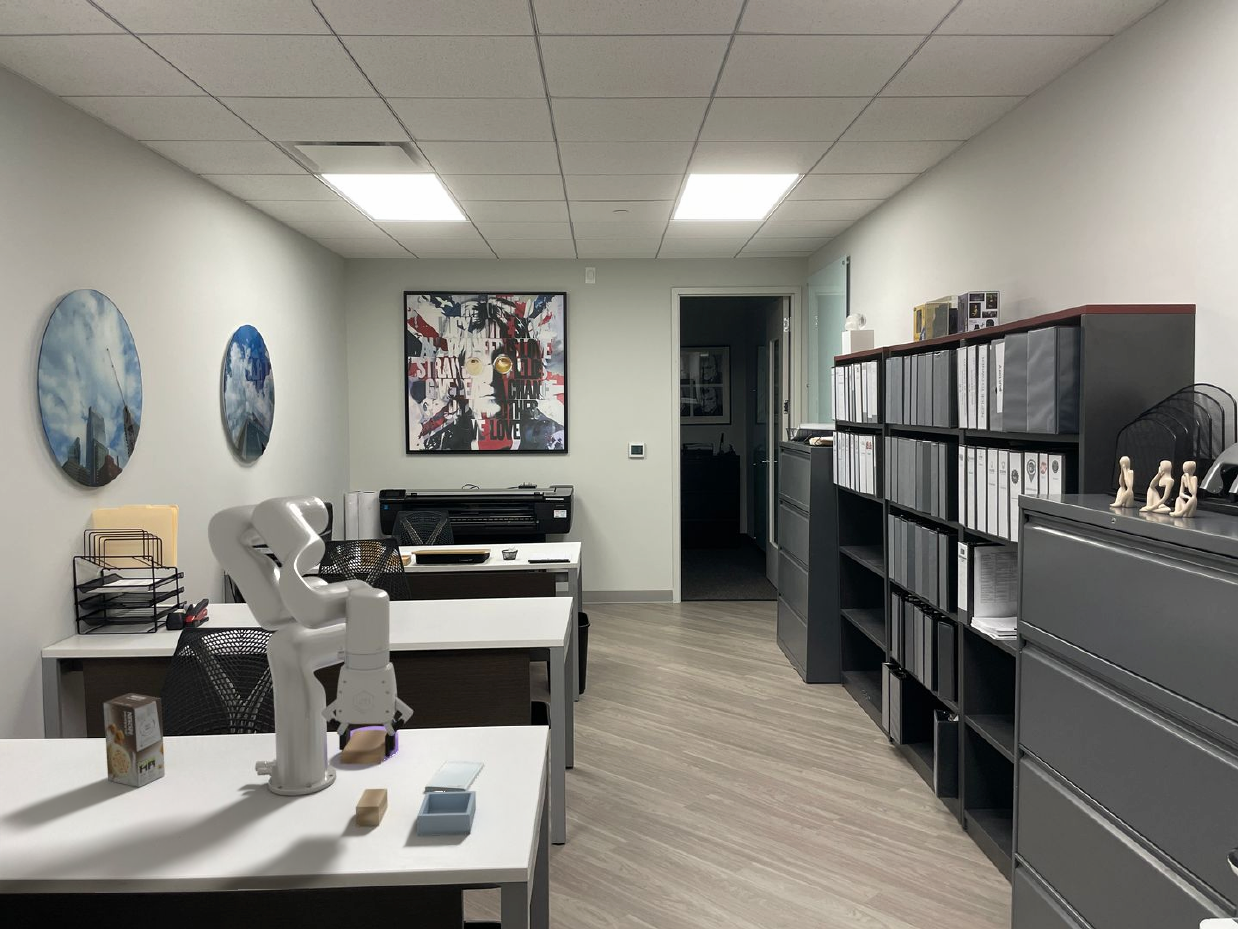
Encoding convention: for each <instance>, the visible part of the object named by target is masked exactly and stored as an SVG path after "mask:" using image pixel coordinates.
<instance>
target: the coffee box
mask: <svg viewBox="0 0 1238 929" xmlns="http://www.w3.org/2000/svg"><path fill="white" fill-rule="evenodd" d="M162 713H163V712H162V698H161V697H157V696H150V695H146V694H145V695H144V694H137V693H134V692H129V693H125V694H122V695H120V696H117V697H114V698H112V699H110V700H107V701H104V702H103V715H104V717H103V718H104V732H105V734H104V735H105V750H106V752H105V753H106V767H107V780H108V781H109V782H114V783H119V784H123V785H128V786H131V787H136V788H140V787H143V786H146V785H148V784H150V783H152V782H153V781H156V780H158V779H161V778H163V777H164V776H165V775H166V774H165V770H166V769H165V752H164V751H165V750H164V749H165V748H164V734H163V732H164V730H163V717H162V716H163V714H162Z"/></svg>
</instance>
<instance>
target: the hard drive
mask: <svg viewBox="0 0 1238 929" xmlns="http://www.w3.org/2000/svg"><path fill="white" fill-rule="evenodd" d="M483 767H484V768H485V763H484V762H483V761H470V760H469V761H468V760H450V759H449V760H446V761H445V762H444V763H443V765H442V766H441V767H440V768H439V769H438V770H437V772H436V773H435V774H434V776H433V777H432V778H431V780H430V781H428V783H427V784H426V786H424V791H443V792H444V791H445V792H461V791H469V790H470V788H471V787H472V786H473V784H474V783H475V781H476V780H477V778H478V777H479V775H480V774H481V773H482V771H483V770H484V768H483ZM481 770H482V771H481ZM479 773H480V774H479ZM477 776H478V777H477ZM475 779H476V780H475ZM471 785H472V786H471Z"/></svg>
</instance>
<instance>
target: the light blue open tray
mask: <svg viewBox="0 0 1238 929" xmlns="http://www.w3.org/2000/svg"><path fill="white" fill-rule="evenodd" d="M424 794H425V795H424V797H423V800H422V803H421V806H420V808H419V809H418V813H417V817H416V818H417V836H418V835H419V836H444V835H445V836H449V835H452V836H453V835H471V831H472V828H473V823H474V818H475V814H476V810H477V809H476V808H477V803H476V802H477V801H476V799H477V796H476V794H477V792H476V790H470V791H469V790H468V791H461V792H425V793H424Z"/></svg>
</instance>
